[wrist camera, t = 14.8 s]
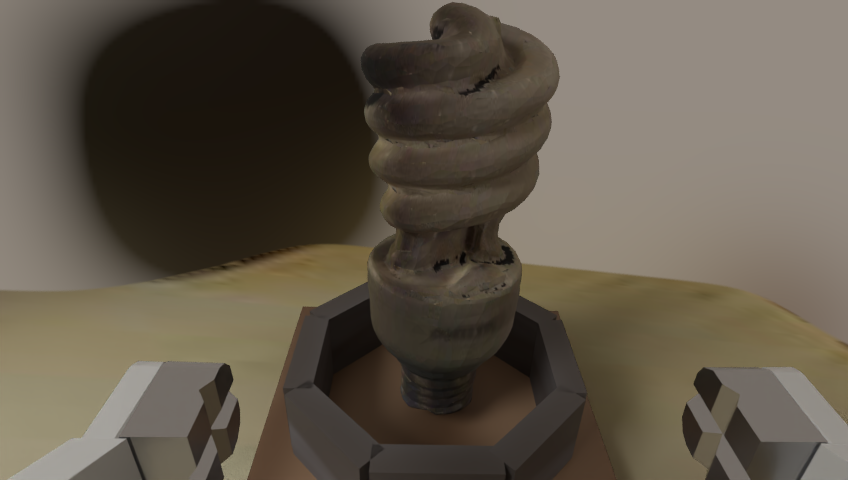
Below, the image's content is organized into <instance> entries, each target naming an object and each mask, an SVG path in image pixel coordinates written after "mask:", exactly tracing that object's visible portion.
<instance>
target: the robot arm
mask: <svg viewBox="0 0 848 480" xmlns="http://www.w3.org/2000/svg"><path fill="white" fill-rule="evenodd" d="M232 382H233V376H232V373H231V369H230V366H229V365H227V364H225V363H202V362H172V361H168V362H152V361H138V362H136V363H134V364H133V365H131V366H130V367H129V368H128V370H127V371H126V373H125V374H124V376H123V377H122V379H121V380H120V382H119V383H118V385H117V386H116V388H115V389H114V391H113V392H112V393H111V395H110V396H109V398H108V399H107V401H106V402H105V404H104V405H103V407H102V408H101V410H100V411H99V413H98V414H97V416H96V417H95V419H94V420H93V422H92V423H91V425H90V426H89V427H88V429H87V430H86V432H85V433H84V435H83V436H82V438H71V439H70V440H68V441H67V442H65V443H64V444H62V445H60V446H59V447H57V448H56V449H54V450H53V451H51V452H49V453H48V454H46V455H45V456H43V457H42V458H40V459H39V460H37V461H35V462H34V463H32V464H31V465H29V466H28V467H26V468H25V469H23V470H21V471H20V472H18V473H17V474H15V475H14V476H12V477H11V478H9V479H7V480H223V479H224V476H223V472H222V468H221V463H223V462H224V461H225V460H226V459H227V458H228V457H230V456H231V455H232V454H233V451H234V448H235V445H236V442H237V439H238V433H239V426H240V408H239V403H238V399H237V398H236V397H235V396H234V395H233V394H232V393H230V392H229V390H230V387H231V385H232ZM694 386H695V388H696V389H697V391H698V393H699V394H697V395H696V396H695V397H693V398H692V399H691V400H689V401H688V402H687V403H686V406H685V409H684V413H683V416H682V422H683V434H684V438H685V441H686V445H687V447H688V449H689V451H690V453H691V455H692V457H693V458H694V459H695V460H697V461H698V462H699V463H701V464H702V465H703V466H704V467H706V468H707V469H708V470H707V474H706V478H705V480H848V425H847V424H846V423H845V421H844V420H843V419H842V418H841V417H840V416H839V414H838V413H837V412H836V411H835V410H834V409H833V408H832V406H831V405H830V404H829V403H828V402H827V401H826V400H825V398H824V397H823V396H822V395H821V394H820V393H819V391H818V390H817V389H816V388H815V387H814V386H813V385H812V383H811V382H810V381H809V380H808V379H807V378H806V377H805V375H804V374H803V373H802V372H800V371H799V370H797V369H795V368H793V367H762V368H758V367H704V368H703V369H702V370H700V371H699V372H698V373H697V376H696V379H695V381H694Z"/></svg>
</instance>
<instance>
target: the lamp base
mask: <svg viewBox="0 0 848 480" xmlns="http://www.w3.org/2000/svg"><path fill="white" fill-rule="evenodd" d="M401 368H402V366H401V364H400V362H399V361H398V360H397V358H396V357H395V356H393V355H392V354H391V353H390V352H388V351H387V349H386V348H385V347H384V345H383V344H382V343H381V341H380V340H379V339H378V337H377V335H376V333H375V331H374V329H373V325H372V320H371V311H370V297H369V289H368V282H366V283H364V284H362V285H360V286H358V287H356V288H354V289H352V290H350V291H348V292H346V293H344V294H342V295H340V296H338V297H336V298H334V299H332V300H330V301H329V302H327V303H325V304H323V305H321V306H319V307H303V308H302V311H301V314H300V317H299V320H298V323H297V327H296V330H295V333H294V336H293V339H292V342H291V345H290V348H289V351H288V355H287V358H286V361H285V364H284V367H283V370H282V373H281V376H280V379H279V382H278V386H277V389H276V392H275V395H274V398H273V401H272V404H271V407H270V410H269V414H268V417H267V420H266V423H265V426H264V429H263V432H262V435H261V438H260V441H259V445H258V448H257V451H256V454H255V457H254V460H253V463H252V466H251V469H250V473H249V476H248V479H247V480H616V477H615V474H614V471H613V468H612V466H611V463H610V460H609V457H608V454H607V451H606V448H605V446H604V443H603V440H602V437H601V434H600V431H599V428H598V425H597V423H596V420H595V417H594V414H593V411H592V408H591V405H590V402H589V400H588V397H587V391H586V388H585V385H584V382H583V379H582V377H581V374H580V371H579V368H578V365H577V362H576V359H575V357H574V354H573V351H572V348H571V345H570V342H569V340H568V337H567V334H566V331H565V328H564V325H563V322H562V320H561V319H560V316H559V314H558V311H548V310H546V309H544V308H542V307H540V306H538V305H536V304H535V303H533V302H531V301H529V300H527V299H525V298H523V297H521V296H519V297H518V303H517V308H516V312H515V316H514V321H513V326H512V329H511V331H510V333H509V335H508V337H507V339H506V340H505V342H504V343H503V345H502V346H501V347H500V349H499V350H498V351H497V352H496V353H495V354H494V355H493V356H492V357H491V358H489V359H488V360H487V361H485V362H484V363H482V364H481V365H480V366H479V367H478V368H477V369H476V376H475V379H474V383H473V392H472V400H471V402H470V403H469V404H468V405H467V406H466V407H465V408H463V409H462V410H460V411H458V412H455V413H452V414H443V415H435V414H433V413H431V412H430V411H428V410H422V409H417V408H411V407H409V406H408V405H407V404H406V402H405V401H404V400H403V398H402V395H401V390H400V387H401V376H402V375H401Z"/></svg>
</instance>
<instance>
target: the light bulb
mask: <svg viewBox="0 0 848 480" xmlns="http://www.w3.org/2000/svg"><path fill="white" fill-rule="evenodd" d="M430 33H431V36H432V40H425V41H412V42H398V43H382V44H381V43H377V44H374V45H371V46H369V47H368V48H366V49H365V51H364V52H363V54H362V57H361V67H362V71H363V73H364V75H365V77H366V79H367V80H368V81H369V83H370V84H371V85H372V86H373V88H374V93H373V94H372V95H371V96H370V97H369V99H368V100H367V102H366V106H365V109H364V114H365V118H366V122H367V123H368V125H369V127H370V128H371V129H372V130H373V131H374V132H375V133H377V134H378V135H379V139H378V141H377V143H376V144H375V146H374V147H373V149H372V150H371V152H370V155H369V164H370V168H371V169H372V171H373V172H374V174H375V175H377V176H378V177H380V178H381V179H382V180H384V181H385V182H386V183H387V184H388V189H387V191H386V192H385V193H384V195H383V196H382V199H381V202H380V211H381V213H382V215H383V217H384V218H385V220H386V221H387V222H388V223H389V224H390V225H391V226H393V227H395V228H396V234H394V235H392V236H390V237H388V238H386V239H384V240H383V241H382V242H380V243H379V244H378V245H377V246H376V247H375V248H374V249H373V250H372V252H371V253H370V256H369V259H368V262H367V265H368V289H369V297H370V311H371V320H372V325H373V329H374V331H375V333H376V335H377V337H378V339H379V340H380V341H381V343H382V344H383V345H384V347H385V348H386V349H387V351H388V352H390V353H391V354H392V355H393V356H395V357H396V358H397V360H398V361H399V362H400V364H401V366H402V368H401V375H402V376H401V387H400V390H401V395H402V398H403V400H404V401H405V402H406V404H407V405H408V406H409V407H411V408H417V409H422V410H428V411H430V412H431V413H433V414H435V415H443V414H452V413H455V412H458V411H460V410H462V409H463V408H465V407H466V406H467V405H468V404H469V403H470V402H471V400H472V392H473V383H474V379H475V376H476V369H477V368H478V367H479V366H480V365H481V364H482V363H484V362H485V361H487V360H488V359H489V358H491V357H492V356H493V355H494V354H495V353H496V352H497V351H498V350H499V349H500V347H501V346H502V345H503V343H504V342H505V340H506V339H507V337H508V335H509V333H510V331H511V329H512V326H513V321H514V316H515V312H516V308H517V303H518V297H519V291H520V282H521V276H522V266H521V262H520V260H519V258H518V256H517V254H516V252H515V251H514V250H513V248H511V246H510V245H509V244H508V243H507V242H505V241H504V240H502V239H500V238H499V237H498V228H499V223H500V222H501V220H502V219H503V217H504V215H505V214H506V213H508V212H510V211H512V210H513V209H515V208H516V207H517V206H518V205H520V204H521V203H522V202H523V201H524V200H525V199H526V198H527V197H528V195H529V194H530V193H531V192H532V190H533V189H534V187H535V184H536V182H537V179H538V176H539V160H538V156H537V152H538V151H539V150H540V149H541V147H542V146H543V144H544V142H545V141H546V139H547V138H548V135H549V132H550V129H551V123H552V121H551V113H550V110H549V107H548V104H547V102H548V101H549V100H550V99H551V98H552V96H553V95H554V93H555V91H556V89H557V86H558V82H559V77H560V76H559V68H558V64H557V60H556V58H555V56H554V54H553V53H552V52H551V50H550V49H549V48H548V47H547V46H546V45H545V44H544V43H542V42H541V41H540V40H539V39H537V38H536V37H534V36H533V35H531V34H529V33H527V32H525V31H522V30H520V29H519V28H517V27H513V26H510V25H506V24H502V23H501V22H500V20H499V18H497V17H493V16H489V15H487V14H485V13H484V12H482V11H481V10H479V9H478V8H476V7H473V6H469V5H467V4H463V3H454V2H452V3H449V4H446V5H444V6H442V7H441V8H440V9H438V10H437V11H436V12H435V13H434V14H433V16H432V18H431V21H430Z"/></svg>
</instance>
